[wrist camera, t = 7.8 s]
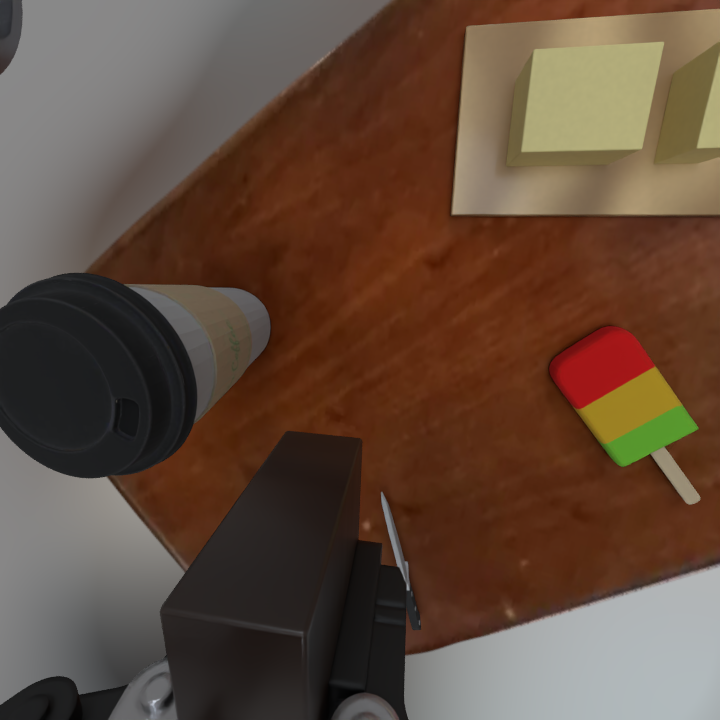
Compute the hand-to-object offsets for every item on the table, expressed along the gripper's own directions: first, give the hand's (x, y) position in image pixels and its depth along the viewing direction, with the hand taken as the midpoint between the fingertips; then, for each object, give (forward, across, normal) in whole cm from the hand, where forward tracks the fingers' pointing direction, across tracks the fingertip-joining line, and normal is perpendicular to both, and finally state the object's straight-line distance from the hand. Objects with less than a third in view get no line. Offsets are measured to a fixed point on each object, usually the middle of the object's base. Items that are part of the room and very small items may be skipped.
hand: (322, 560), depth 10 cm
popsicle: (+19, -18, +3) cm, 27 cm away
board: (+19, -13, -16) cm, 28 cm away
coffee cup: (+19, +12, -2) cm, 22 cm away
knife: (+19, -3, +17) cm, 26 cm away
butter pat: (+18, -16, -16) cm, 29 cm away
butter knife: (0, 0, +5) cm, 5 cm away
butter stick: (+18, -10, -16) cm, 26 cm away
